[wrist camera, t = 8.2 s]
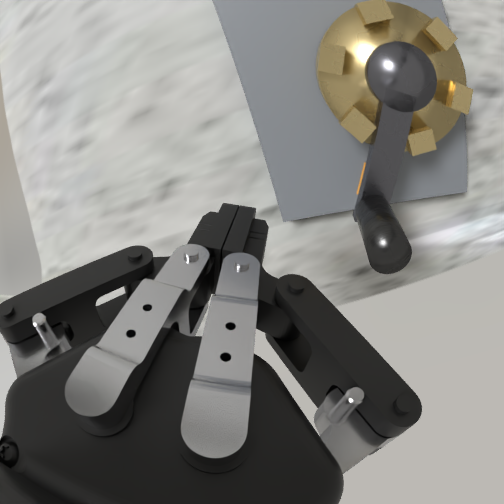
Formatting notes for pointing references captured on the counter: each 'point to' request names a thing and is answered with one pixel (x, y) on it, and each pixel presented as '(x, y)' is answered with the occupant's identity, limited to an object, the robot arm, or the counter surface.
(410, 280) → the counter surface
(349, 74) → the lever with gold dial
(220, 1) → the base plate
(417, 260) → the counter surface
